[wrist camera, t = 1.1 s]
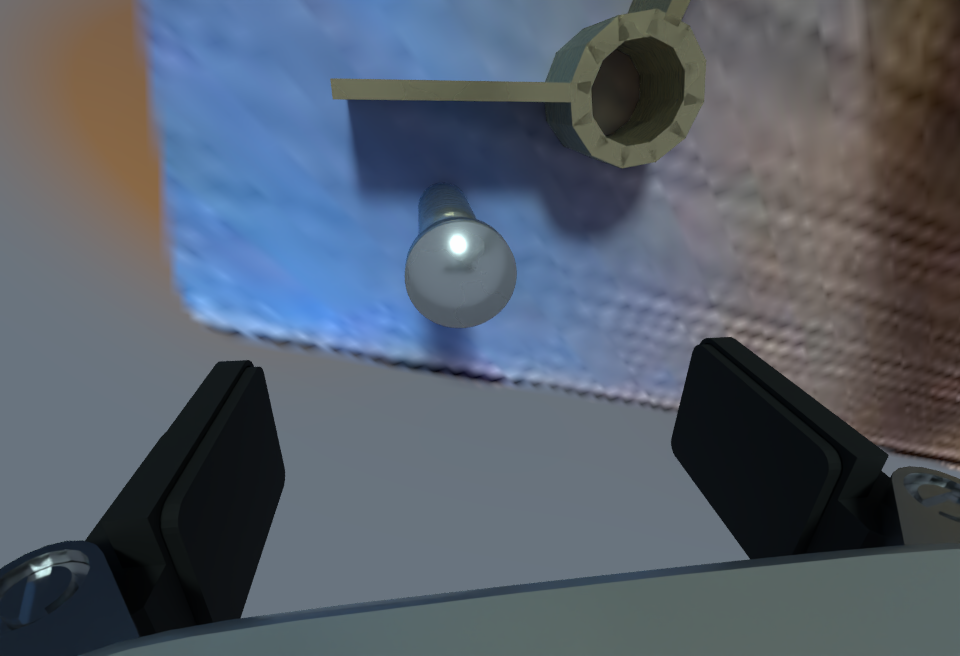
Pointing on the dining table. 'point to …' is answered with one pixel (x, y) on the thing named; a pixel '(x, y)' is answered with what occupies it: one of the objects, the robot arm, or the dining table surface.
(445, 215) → the hinge pin
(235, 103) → the dining table surface
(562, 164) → the dining table surface
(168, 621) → the robot arm
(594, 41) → the brass hinge
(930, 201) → the dining table surface
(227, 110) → the dining table surface
